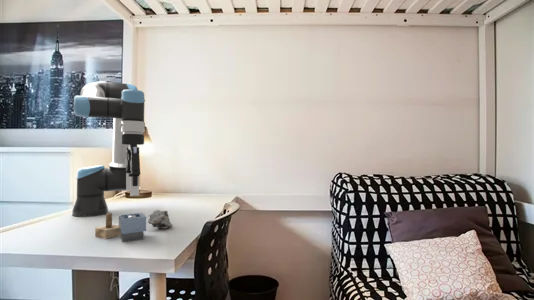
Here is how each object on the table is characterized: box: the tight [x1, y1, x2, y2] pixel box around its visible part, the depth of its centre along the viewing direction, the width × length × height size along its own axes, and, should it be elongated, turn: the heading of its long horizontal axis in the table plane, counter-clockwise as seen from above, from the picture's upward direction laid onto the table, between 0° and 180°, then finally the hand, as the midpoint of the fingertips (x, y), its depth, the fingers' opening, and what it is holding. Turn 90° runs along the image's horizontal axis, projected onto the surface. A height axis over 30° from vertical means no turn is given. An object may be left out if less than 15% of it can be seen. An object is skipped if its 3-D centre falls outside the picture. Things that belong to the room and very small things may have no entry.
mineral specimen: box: [147, 209, 173, 229], centre depth 124 cm, size 10×8×10 cm
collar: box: [118, 212, 147, 234], centre depth 109 cm, size 8×8×5 cm
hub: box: [120, 215, 145, 243], centre depth 109 cm, size 7×7×8 cm
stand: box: [94, 212, 121, 240], centre depth 113 cm, size 6×6×8 cm
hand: (132, 193), depth 109 cm, fingers open, 13 cm apart
